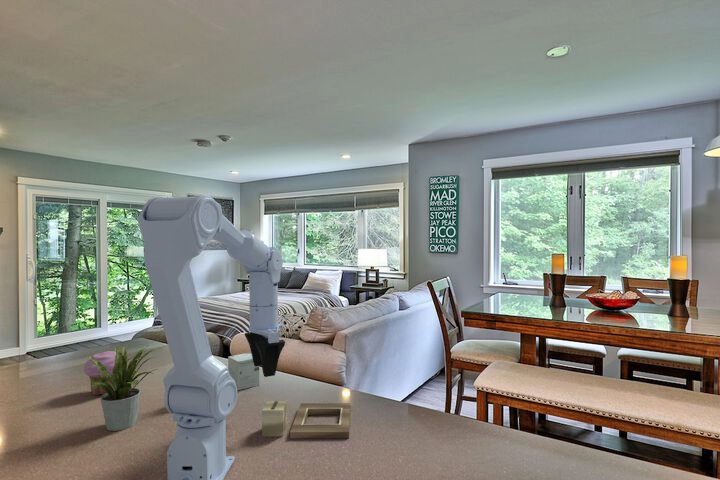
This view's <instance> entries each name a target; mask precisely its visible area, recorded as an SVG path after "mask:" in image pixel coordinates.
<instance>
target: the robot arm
mask: <svg viewBox="0 0 720 480" xmlns="http://www.w3.org/2000/svg"><path fill="white" fill-rule="evenodd" d="M137 223H138V226H139V230H140V235H141V238H142V241H143V245H144V252H143V253H144V258H143V259H144V260H143V261H144V264H145V269H146V273H147V276H148V280H149V283H150V287H151V290H152V292H153V298H154V299H155V303H156V307H157V310H158V314H159V319H160V322H161V324H162V328H163V332H164V335H165V338H166V343H167V345H168V349H169V353H170V355H171V360H172V363H173V366H172V367H171V368H170V369H169V370H168V372H167V373H166V374H165V376H164V377H163V379H162V382H163V384H164V406H165V409H166V411H168V413H170V414H172V421H173V422H176V432H175V433H176V434H175V436H174V438H173V440H172V442H171V443H170V445H169V446H168V448H167V449H168V450H167V452H166V453H167V454H166V464H167V465H166V469H167V472H166V473H167V475H166V477H167V480H224V479H225V477H226V475H227V473H228V472H229V470H230V468H231V467H232V465H233V463H234V461H235V459H236V457H235V456H233V455H228V456H227V433H226V432H227V427H226V425H227V423H226V421H227V420H226V419H227V417H228V416H229V415H230V414H231V412H232V411H233V409H234V408H235V406H236V403H237V399H238V390H237V386H236V383H235V381H234V379H233V378H232V377H231V376H230V374H229V370H228V365H227V366H226V364H224V363H223V362H221V361H220V360H218V359H217V358H216V357H215V356H213V354H212V350H211V346H210V341H209V337H208V334H207V333H208V332H207V329H206V326H205V322H204V318H203V314H202V311H201V306H200V303H199V302H200V301H199V299H198V294H197V290H196V286H195V283H194V278H193V274H192V271H191V267H190V264H191V262H192V260H193V259H194V258H196V257H198V256H199V255H201V253H202V252H203V251H204V249H205V248H206V246H208V244H209V242H210V241H211V240H212V239H213V240H214V241H216V242H219V243H221V244H222V245H223V246H226V252H227V254H228V255H229V256H230V257H231V258H233V259H234V260H236V261H237V262H239V263H240V264H241V265H242V266H243V267H242V268H243V270H244V272H245V273H246V274H248V278H249V279H248V282H249V283H248V284H249V285H248V286H249V287H248V288H249V291H248V293H249V296H248V297H249V326H248V332H245V333H244V337H245V338H246V341H247V342H248V345H249V348H250V353H251V354H252V359H253V363H254V366H255V367H256V366H259V367H261V368H262V369H261V370H262V373H263V377H264V378H269V377H273V376H275V375H276V373H277V368H278V363H279V359H280V356H281V354H282V351H283V349H284V348H285V346H286V340H285V339H280V332H279V330H280V329H284V326H285V325H284V323H281V322H280V323H279V314H278V313H279V305H278V304H279V299H278V297H279V296H278V294H279V293H278V291H279V290H278V289H279V285H278V284H279V283H280V281H281V272H282V269H283V265H284V260H283V256H282V252H281V251H280V250H279V249H277V247H275V246H268V245H267V244H265V242H264V241H262V240H260V239H259V238H258V237H257V236H256V235H254V231H252V230H251V229H241V230H239V229H238V228H237V227H236V226H235V225H234V224H233V223H232V222H231V221H230V220H229V219H228V218H227V217H226V216H225V215H224V214H223V210H222V206H221V204H220V203H219V202H217V201H216V200H215V199H214V198H213V197H212V196H211V195H208V194H200V195H195V196H193V195H192V196H174V197H173V196H172V197H161V196H155V197H152V198H150V199H148V200H147V201H146V202H145V204H144V206H143V207H142V209H141V211H140V213H139V215H138V216H137Z"/></svg>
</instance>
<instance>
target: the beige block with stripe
mask: <svg viewBox="0 0 720 480" xmlns="http://www.w3.org/2000/svg"><path fill="white" fill-rule="evenodd" d="M287 427H288V401H278V400H276V401H266V402H265V404H264V406H263V408H262V409H261V437H284V436H285V433H286V431H287Z"/></svg>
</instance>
